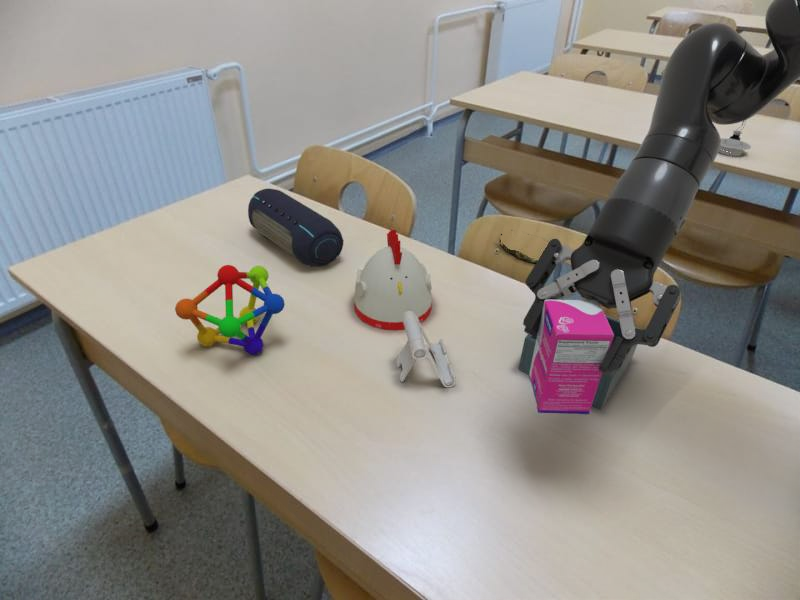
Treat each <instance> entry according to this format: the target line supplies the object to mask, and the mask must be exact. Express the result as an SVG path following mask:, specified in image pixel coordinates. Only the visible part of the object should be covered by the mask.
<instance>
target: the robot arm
mask: <svg viewBox="0 0 800 600" xmlns="http://www.w3.org/2000/svg"><path fill="white" fill-rule="evenodd" d="M764 24H765V30H766V33H767V36H768V37H769V41H770V44H771V45H772V47H773V49H772V50H771V51H769V52H767V53H765V54H761V53H760V52H759V51H758V50H757V49H756V48H755V47H754V46H753V45H752V44H751V43H750V42H748V41H747V39H745V38H744V37H743V36H742V35H741V34H740V33H739V32H738V31H736V30H735V29H734V28H733V27H731V25H728V24H725V23H722V22H711V23H707V24H704V25H701V26H699V27H698V28H696V29H694V30H693V31H691V32H690V33H688V34H687V35H686V36H685V37H684V38H683V39H682V40H681V41H680V42H679V43H678V45H677V46H676V47H675V48H674V50H673V52H672V54H671V55H670V56H669V58H668V61H667V63H666V65H665V67H664V70H663V73H662V76H661V79H660V80H661V81H660V84H659V88H658V94H657V96H656V100H655V105H654V108H653V112H652V116H651V121H650V124H649V129H648V131H647V133H646V135H645V137H644V138H643V140H642V142H641V144H640V146H639V147H638V150H637V151H636V153H635V155H634V156H633V158H632V160H631V162H630V164H628V166H627V168H626V170H625V171H624V172H623V173H622V174H621V176H620V177H619V179H618V180H617V181H616V184H614V187H613V189H612V191H611V192H610V194H609V196H608V197H607V199H606V201H605V202H604V204H603V207H602V208H601V210H600V212H599V214H598V215H597V217H596V219H595V221H594V223H593V225H592V226H591V228H590V230H589V232H588V233H587V235H586V237H585V239H584V241H583V242H582V244H580V246H579V247H577V248H576V249H573V248H571V247H569V246H566V245H564V244H562V243H561V241H560V239H558V238H552V239H551V240H549V241H548V242H549V243H548V245H547V247H546V248H545V250H544V251H543V253H542V255H541V256H540V258H539V260H538V261H537V263H534V266H533V267H532V269H531V271H530V272H529V274H528V275H527V277H526V279H525V285H526V287H527V288H528V289H529V290H530V291H531V292H532V293H533V294H534V296H535V297H534V300H533V302H532V304H531V305H530V307H529V309H528V311H527V313H526V315H525V317H524V318H523V322H522V325H523V326H524V330H523V331H524V333H525V334H527V335H530V336H532V337H534V336H535V335H536V334H537V332H538V330H539V325H540V320H541V315H542V310H543V306H544V301H545V300H560V299H562V298H563V299H565V298H569V297H572V296H574V295H576V294H579V295H580V297H581V298H583V299H584V300H597V301H598V302H599V304H600V306H601V307H603V308H605V309H608V310H610V309H616V311H617V315H618V316H617V317H618V320H619V321H620V326H621V331H622V333H621V335H620V337H618V336H616V338H615V340H614V342H613V343H612V345H611V347H610V349H609V351H608V352H607V354H606V356H605V358H604V360H603V361H602V363H601V365H600V367H599V371H600V372H601V373H603V374H605V375H608V374H609V373H610V371H613V372H616V371H618V370H619V369H620V367H621V365H622V364H623V362H624V360H625V358H626V356H627V355H628V353H629V351H630V349H631V348H632V347H633V346H634V345H637V346H638V345H643V346H648V347H649V348H654V347H656V346H658V344H659V342H660V341H661V338H662V336H663V335H664V333H665V331H666V328H667V326H668V324H669V322H670V320H671V318H672V316H673V314H674V313H675V310H676V309H677V306H678V305H679V302H680V300H681V289H680V288H681V287H679V286H678V285H677V284H670V285H666V284H664V283H660V282H657V281H655V280H654V276H655V273H656V271H657V269H658V268H659V266H660V265H661V262H662V260H663V258H665V255H666V253H667V252H668V250H669V248H670V246H671V244H672V243H673V241H674V239H675V237H676V235H677V234H678V232H679V230H681V229H682V227H683V226H684V224H685V221H686V218H687V216H688V214H689V212H690V210H691V208H692V206H693V203H694V200H695V197H696V195H697V193H698V191H699V189H700V187H701V185H702V184H703V181H705V179H706V176H707V175H708V173H709V171H710V169H711V168H712V166H713V164H714V162H715V161H716V158H717V156H718V154H719V149H720V146H721V139H722V138H721V135H720V133H719V131H718V129H717V128H716V125H721V126H723V125H724V126H727V125H734V124H739V123H741V122H742V123H743V121H744V122H745V121H747V120H749V119H751V118H753V117H754V116H756V115H757V114H758V113H760V112H761V111H763V110H764V109H765V108H766V107H768V105H770V104H771V103H772V102H773V101H774V100H775V99H777V98H778V97H779V96H780V95H781V94H782V93H783V92H784V91H786V90H787V89H788V88H789V87H791V86H792V85H793V84H794V83H796V82H797V81H798V80H799V79H800V0H773V1H772V2H770V4H769V5H768V8H767V10H766V12H765V17H764ZM715 124H716V125H715ZM566 261H570V266H571V267H570V268H571V271H569V272H567V273H565V274H563V275H560V276H559V277H557V278H556V279H555V280H554V281H553V282H551V283H549V284H546V283H547V282H548V280H549V279H550V278H551V275H552V274H553V272H554V270H555V269H556V267H557V266H562V265H564V263H565V262H566ZM649 293H651V294H652V295H653V296H652V302H653V305H654V306H655V307H656V308H655V310H654V312H653V314H652V315H651V318H650V320H649V322H648V324H647V326H646V328H645V329H642V328H639V329H636V328H635V327H636V323H635V317H634V312H633V307H632V302H633V301H635V300H638V299H639V298H641V297H643V296H646V295H648V294H649Z"/></svg>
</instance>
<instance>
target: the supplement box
mask: <svg viewBox="0 0 800 600" xmlns="http://www.w3.org/2000/svg"><path fill="white" fill-rule="evenodd" d="M605 315H606V314H605V312H604V310H603V308H602V305H600V304H599V302H598V301H597V300H587V299H566V300H545V301H544V306H543V310H542V315H541V320H540V325H539V330H538V334H537V339H536V344H535V349H534V353H533V358H532V363H531V368H530V373H529V374H528V378H529V382H530V384H531V388H532V391H533V396H534V400H535V404H536V409H537V413H539V414H569V415H570V414H572V415H590V413H591V410H592V407H593V406H592V403H593V400H594V397H595V393H596V390H597V387H598V384H599V381H600V378H601V375H602V373H601V372H600V371H599V367H600V365H601V363H602V361H603V360H604V358H605V356H606V354H607V352H608V351H609V349H610V347H611V343H612V340H613V337H614V333H613V331H612V329H611V327H610V325H609V322H608V320H607V318H606V316H607V315H606V316H605Z"/></svg>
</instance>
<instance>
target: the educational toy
mask: <svg viewBox="0 0 800 600" xmlns="http://www.w3.org/2000/svg"><path fill="white" fill-rule="evenodd" d="M245 279H246V280H248V279H249V280H250V282H251V283H253V284H252V285H251V284H250V283H248V282H247V281H245ZM268 279H269V271H268V269H266V268H265V267H264V266H261V265H255V266H253V267H252V268H251V269H250V270H249V271H239V269H237V267H236V266H234V265H231V264H225V265H223V266H221V267H220V268H219V269H218V271H217V279H216V280H215V281H214V282H213V283H211V284H210V285H209V286H208V287H206V288H205V289H204V290H203V291H201V292H200V293H198V294H197V296H195V297H194V298H193V299H191V298H182V299H180V300H179V301H177V302H176V304H175V307H174V311H175V313H176V316H177V317H178V318H180V319H182V320H189V321H191V323H192V324H193V326H194V327H195V328H196V330H197V331H198V332H197V336H196V339H197V342H198V343H199V344H200V345H201V346H203V347H211V346H213V345H215V344H216V343H217V342H218V343H222V344H228V345H233V346H239V347H243V350H244V352H246V353H247V354H248V355H250V356H251V355H252V356H255V355H258V354H260V353H261V352H262V350H263V349H264V340H263V339H262V336H263V335H264V332H265V331H266V328H267V326H268V324H269V322H270V321H271V319H272V317H273V315H277V314H280V313H281V312H282V311H283V310H284V308H285V305H286V304H285V299H284V297H282V296H281V295H280V294H278V293H273V292H272V290H271V288H270V287H269V284H268V283H267V282H268ZM234 285H237V286H238V287H240V288H241V289H243V290H245V291H246V292H248V293H250V296H249V300H248V305H247V306H244V307H243V308H242V309H240V312H239V315H238V316H237V317H236V316H234V292H233V290H234V289H233V286H234ZM222 286H224V295H225V298H224V299H225V300H224V301H225V316H224V317H223V318H219V317H216V316H214V315H211V314H209V313H206V312H204V311H202V310H199V309H198V308H199V307H198V305H199V304H201V303H202V302H203V301H204V300H206V299H207V298H208V297H209V296H210V295H212V294H213V293H214V292H216V291H217V290H218V289H219V288H220V287H222ZM260 287H261V290H262V291H263V292H262V291H261V290H259V289H260ZM257 299H258V300H260V301H262V302H263V305H261V306H259V307H258V308H256V307H255V306H256V302H257ZM263 314H264V315H263ZM261 315H263V317H262V319H261V322H260V324H259V325H258V327H257V329H256V330H255V323H256V322H257V321H258V319H259V316H261ZM200 319H201V320H202V321H206V322H207V323H210V324H212V325H215V326H218V327H216V328H213V327H211V326H204V324H203V323H202V322H201V320H200ZM243 324H245V325H246V326H247V333H248V335H247V334H246V333H244V332H243V331H242V325H243ZM220 334H221V335H220ZM236 337H237V338H236Z"/></svg>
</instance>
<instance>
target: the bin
mask: <svg viewBox="0 0 800 600" xmlns="http://www.w3.org/2000/svg"><path fill="white" fill-rule="evenodd" d="M560 300H567V299H565V298H562V299H560ZM605 316H606V318H607V320H608V322H609V325H610V327H611V329H612V331H613V333H614V337H613V340H612V343H613V342H614V340H615V338H616V336H618V337H620V335H621V333H622V331H621V326H620V321H619V319H616V318H614V317H611V316H608V315H607V314H605ZM635 328H636V329H640V328H639V327H637V326H635ZM537 334H538V332H537ZM537 334H536V335H535V336H534V337H532V336H530V335H528V334H527V335H526V336H525V337H524V340H523V341H524V342H523V345H522V349H521V354H520V359H519V363H518V369H517V370H519V371H521V372H522V373H525V374H526V375H529V373H530V368H531V363H532V358H533V353H534V349H535V344H536V339H537ZM612 343H611V345H612ZM637 347H638V344H637V345H634V346H633V347H632V348H631V349H630V351H629V353H628V355H627V356H626V358H625V360H624V362H623V364H622V365H621V367H620V369H619V370H618V371H616V372H613V371H610V373H609V374H608V375H605V374H603V373H602V375H601V378H600V381H599V384H598V387H597V390H596V393H595V397H594V400H593V403H592V406H591V407H594V408H596V409H598V410H600V411H602V409H603V407H604V406H605V404H606V402H607V401H608V399H609V398H610V396H611V394H612V393H613V391H614V389H615V388H616V386H617V385H618V383H619V381H620V380H621V378H622V377H623V375H624V374H625V372H626V370H627V368H628V367H629V365H630V364H631V362H632V360H633V357H634V355H635V352H636V349H637Z"/></svg>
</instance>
